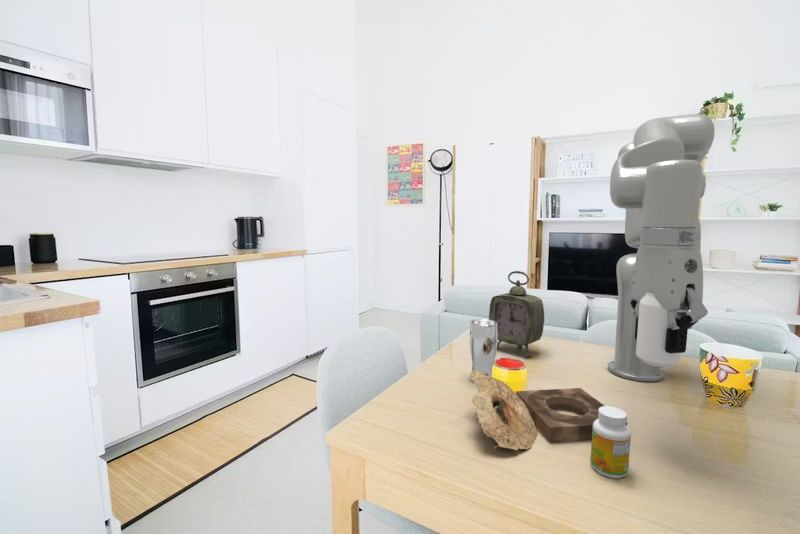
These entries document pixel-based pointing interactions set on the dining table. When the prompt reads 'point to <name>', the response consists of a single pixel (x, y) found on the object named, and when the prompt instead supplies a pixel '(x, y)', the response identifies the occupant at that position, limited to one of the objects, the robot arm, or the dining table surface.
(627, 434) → the supplement bottle
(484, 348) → the beer glass
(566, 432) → the can holder
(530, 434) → the holed granite stone
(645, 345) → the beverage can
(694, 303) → the robot arm
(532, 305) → the tabletop clock
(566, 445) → the dining table surface
